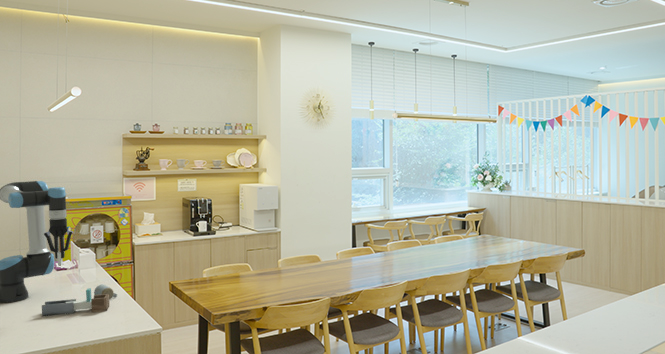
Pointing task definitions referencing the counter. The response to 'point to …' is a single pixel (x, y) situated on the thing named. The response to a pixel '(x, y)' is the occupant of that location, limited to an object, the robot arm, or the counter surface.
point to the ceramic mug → (104, 291)
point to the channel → (58, 307)
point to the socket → (100, 303)
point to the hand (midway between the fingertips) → (60, 264)
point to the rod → (83, 302)
